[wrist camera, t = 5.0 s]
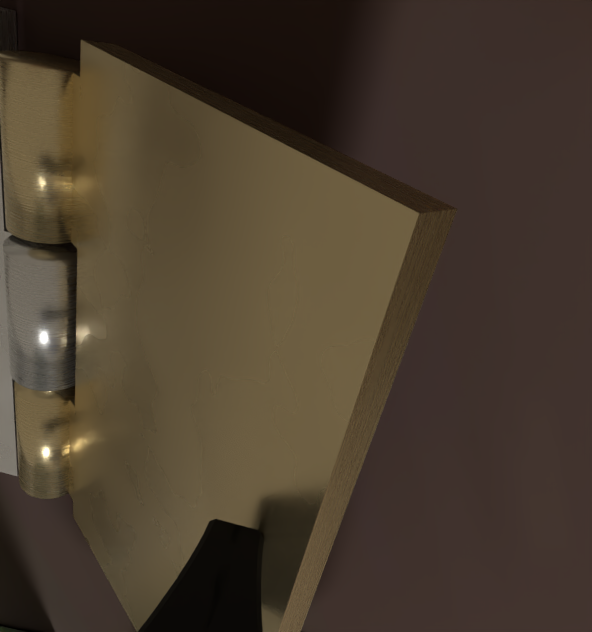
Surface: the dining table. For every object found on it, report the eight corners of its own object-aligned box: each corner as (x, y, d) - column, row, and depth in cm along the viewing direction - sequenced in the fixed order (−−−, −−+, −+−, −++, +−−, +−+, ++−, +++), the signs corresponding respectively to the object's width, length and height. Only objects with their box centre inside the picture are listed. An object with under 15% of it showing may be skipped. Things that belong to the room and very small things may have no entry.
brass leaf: (70, 460, 23) (11, 481, 21) (75, 23, 15) (-18, 10, 13) (252, 767, 15) (180, 830, 14) (461, 207, 7) (342, 222, 6)
